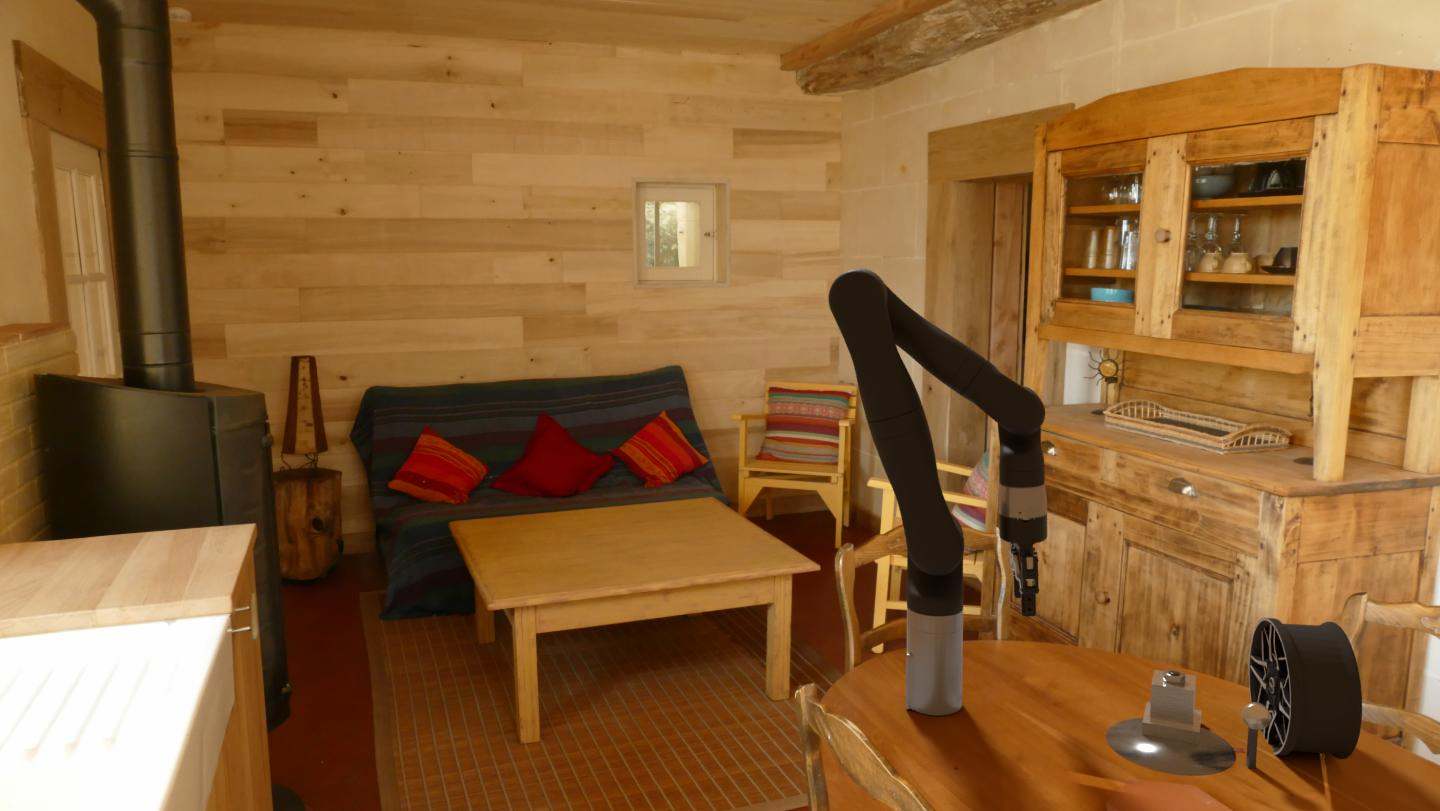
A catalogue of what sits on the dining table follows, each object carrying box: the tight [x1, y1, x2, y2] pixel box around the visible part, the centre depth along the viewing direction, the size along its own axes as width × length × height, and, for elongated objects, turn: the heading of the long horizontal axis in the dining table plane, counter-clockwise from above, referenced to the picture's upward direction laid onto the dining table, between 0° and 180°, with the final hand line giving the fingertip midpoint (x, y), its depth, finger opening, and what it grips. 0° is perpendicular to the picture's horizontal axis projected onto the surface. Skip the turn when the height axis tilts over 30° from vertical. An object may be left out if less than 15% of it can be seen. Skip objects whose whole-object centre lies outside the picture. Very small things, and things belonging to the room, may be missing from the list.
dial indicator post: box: [1241, 701, 1272, 770], centre depth 147 cm, size 4×3×11 cm
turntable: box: [1105, 717, 1246, 776], centre depth 154 cm, size 19×18×1 cm
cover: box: [1142, 669, 1202, 745], centre depth 159 cm, size 8×8×9 cm
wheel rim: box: [1248, 617, 1363, 760], centre depth 153 cm, size 20×9×20 cm, turn 168°
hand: (1024, 606), depth 167 cm, fingers open, 8 cm apart
